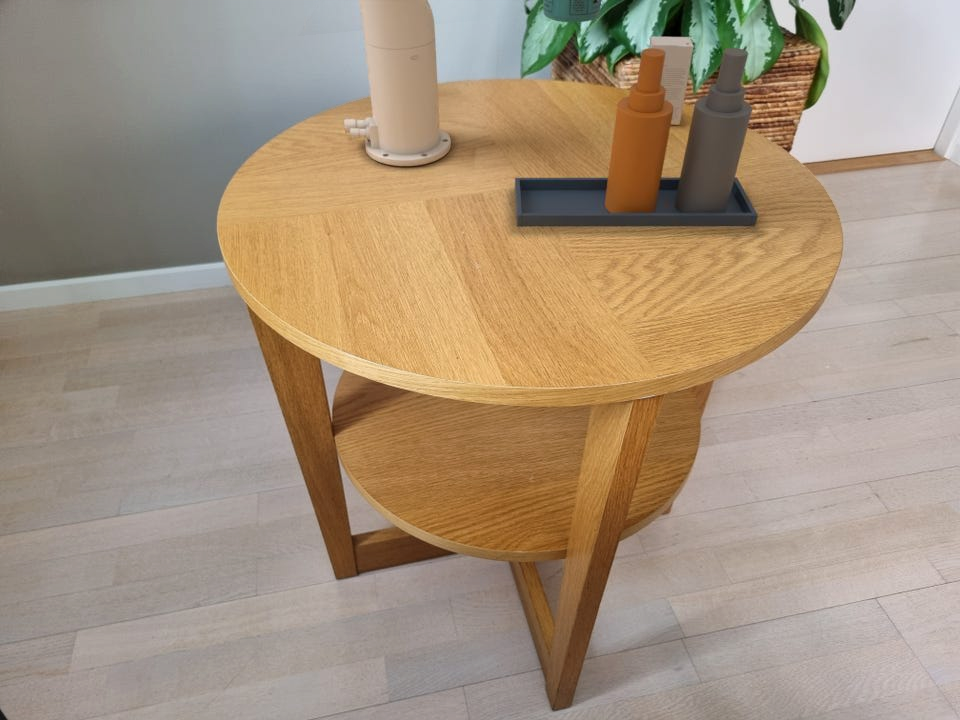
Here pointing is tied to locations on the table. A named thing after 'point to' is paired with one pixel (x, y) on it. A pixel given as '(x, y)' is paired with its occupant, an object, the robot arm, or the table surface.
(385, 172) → the table surface
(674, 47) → the cosmetic box
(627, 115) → the amber bottle
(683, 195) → the grey bottle
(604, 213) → the tray
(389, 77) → the robot arm
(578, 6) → the beverage bottle
